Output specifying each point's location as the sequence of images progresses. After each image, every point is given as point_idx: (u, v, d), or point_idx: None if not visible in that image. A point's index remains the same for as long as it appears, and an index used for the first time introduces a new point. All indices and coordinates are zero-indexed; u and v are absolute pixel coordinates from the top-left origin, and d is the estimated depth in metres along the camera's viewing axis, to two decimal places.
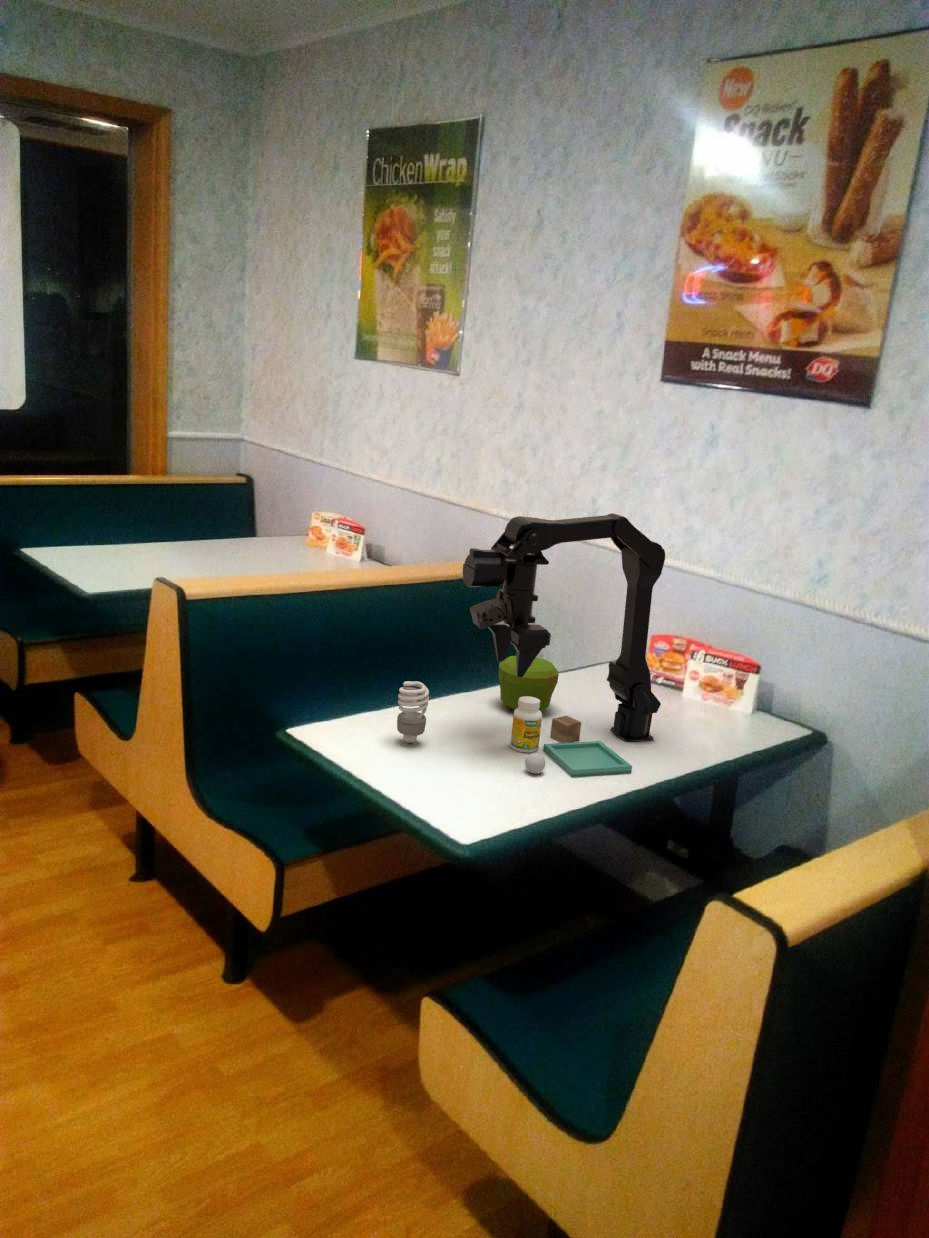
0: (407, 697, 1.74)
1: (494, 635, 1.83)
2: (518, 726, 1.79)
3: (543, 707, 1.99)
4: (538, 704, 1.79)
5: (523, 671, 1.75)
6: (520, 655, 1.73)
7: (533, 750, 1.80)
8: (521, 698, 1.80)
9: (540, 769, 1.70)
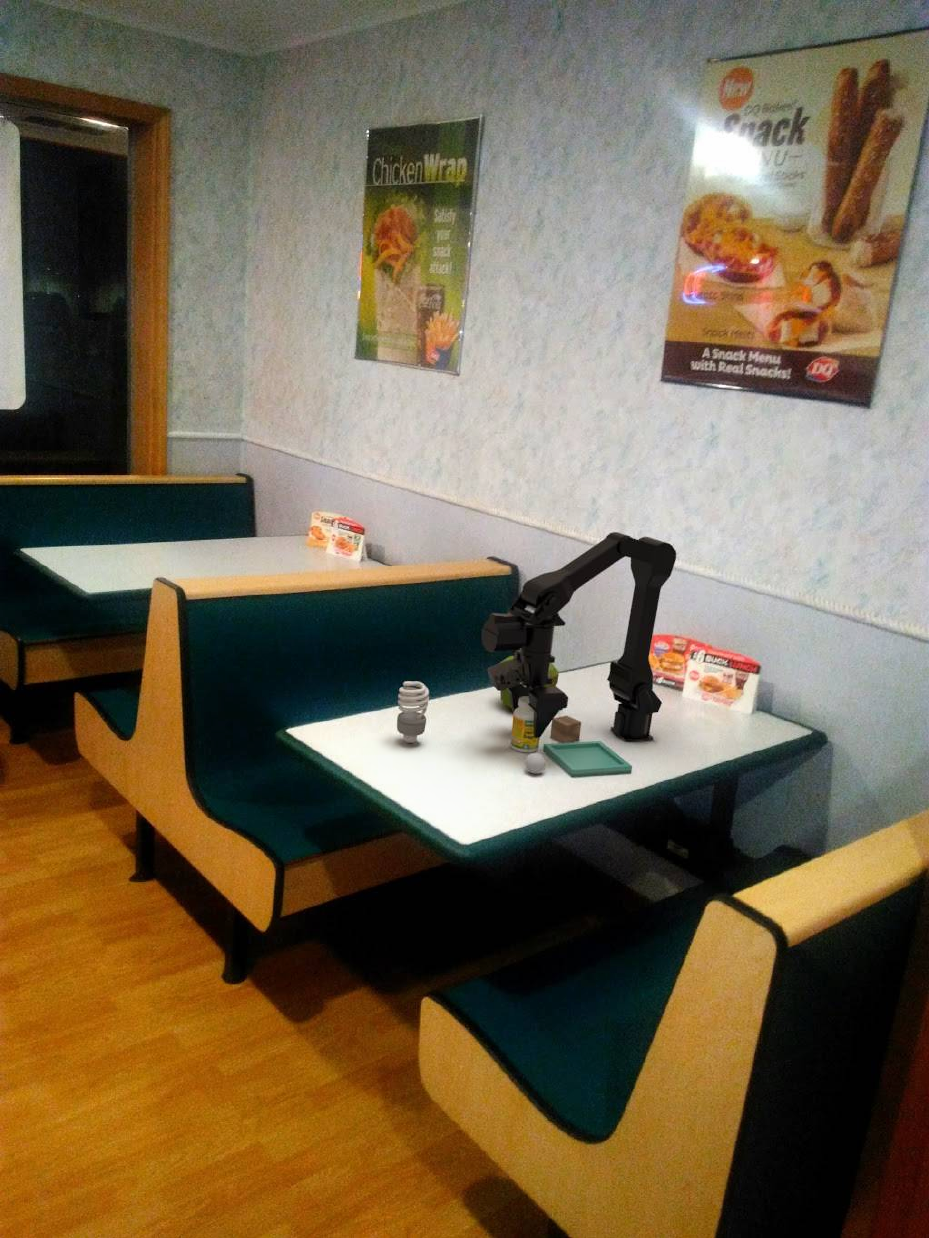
0: (407, 697, 1.74)
1: (511, 694, 1.84)
2: (518, 726, 1.79)
3: None
4: None
5: (540, 732, 1.77)
6: (537, 717, 1.74)
7: (533, 750, 1.80)
8: (521, 698, 1.80)
9: (540, 769, 1.70)
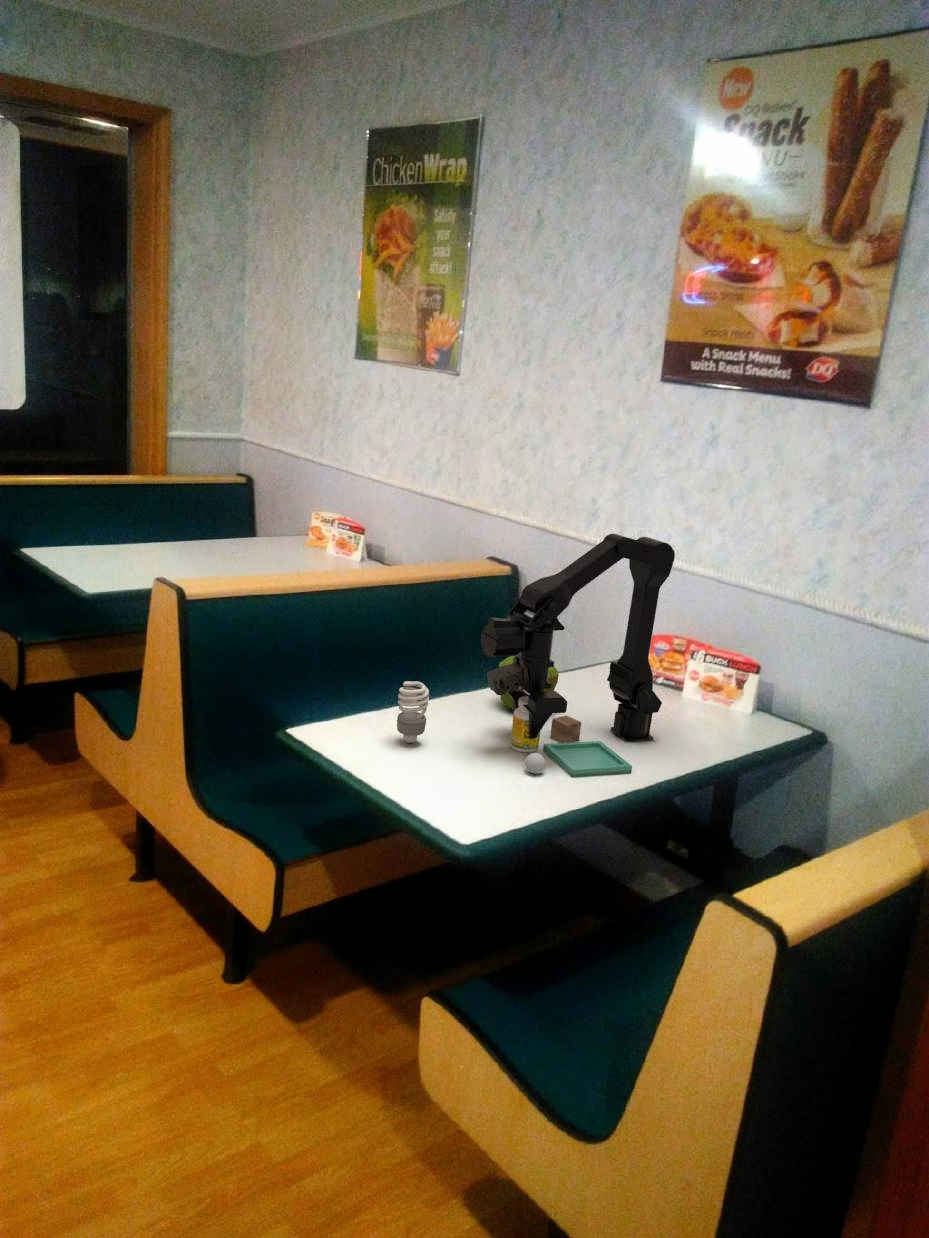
0: (407, 697, 1.74)
1: (514, 701, 1.83)
2: (518, 726, 1.79)
3: None
4: None
5: (535, 733, 1.78)
6: (533, 718, 1.76)
7: (533, 750, 1.80)
8: (521, 698, 1.80)
9: (540, 769, 1.70)
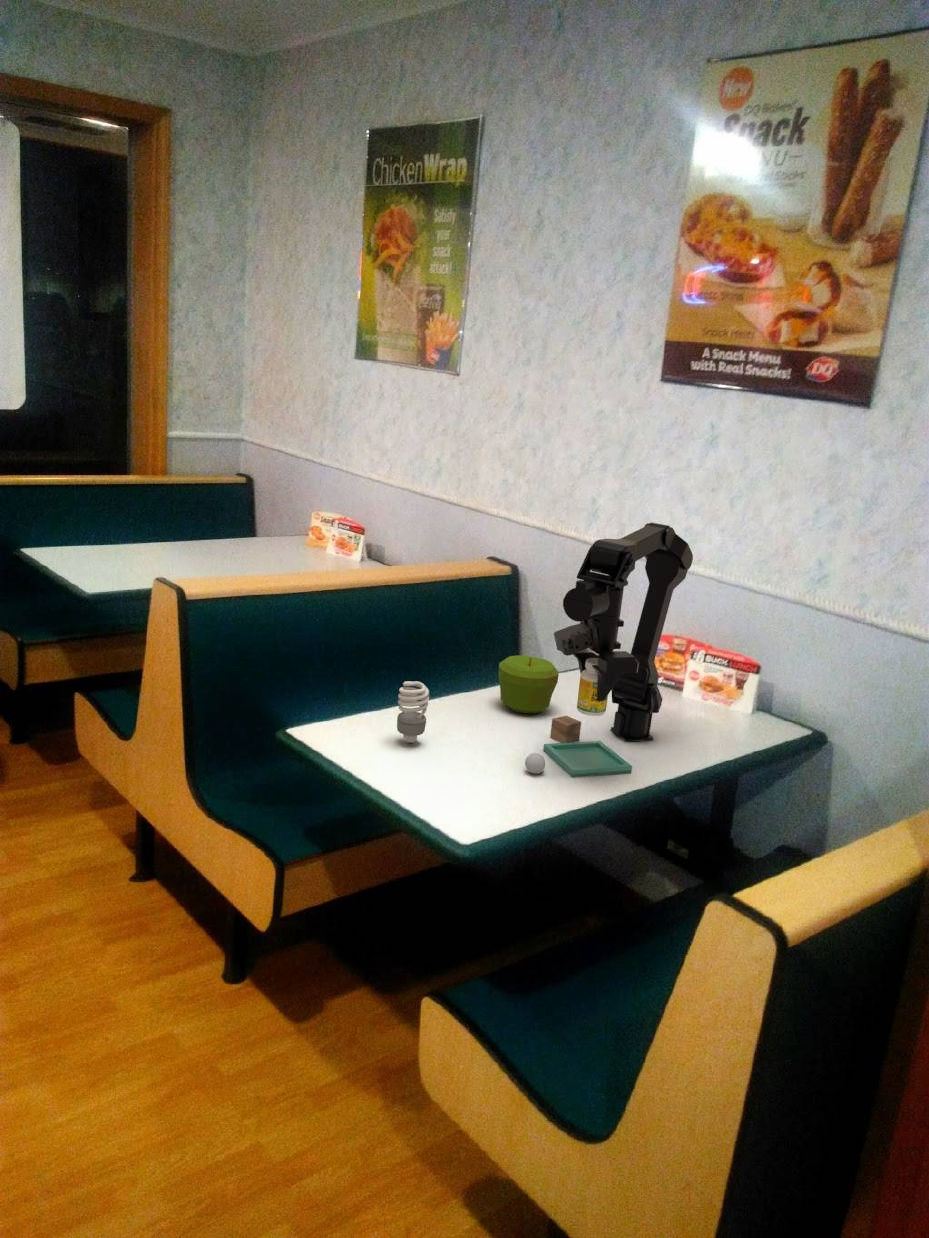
0: (407, 697, 1.74)
1: (580, 663, 1.77)
2: (585, 688, 1.73)
3: (543, 707, 1.99)
4: None
5: (604, 695, 1.72)
6: (602, 679, 1.70)
7: (601, 713, 1.74)
8: (588, 659, 1.74)
9: (540, 769, 1.70)
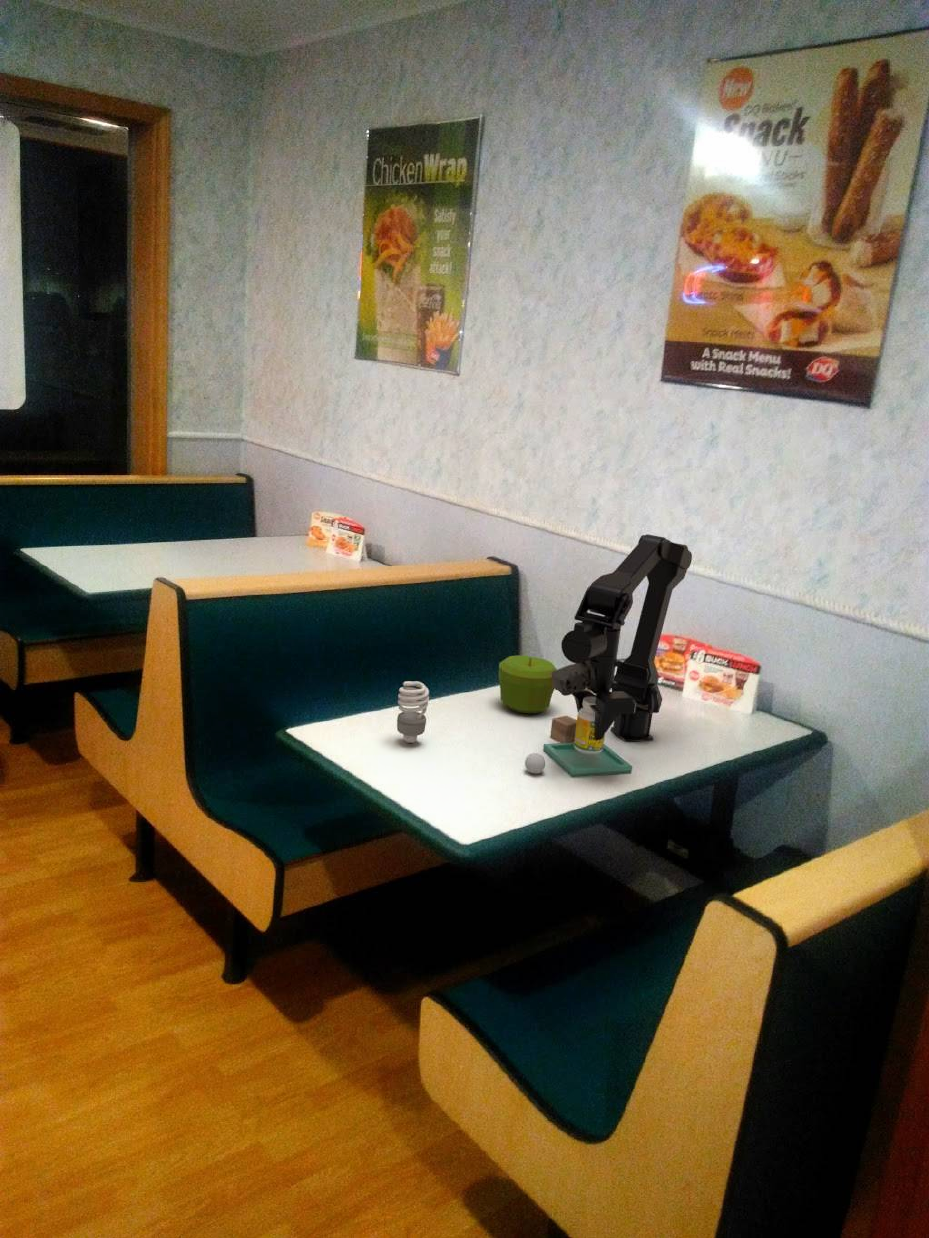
0: (407, 697, 1.74)
1: (577, 701, 1.79)
2: (583, 727, 1.75)
3: (543, 707, 1.99)
4: None
5: (601, 734, 1.74)
6: (599, 719, 1.72)
7: (598, 752, 1.76)
8: (585, 698, 1.76)
9: (540, 769, 1.70)
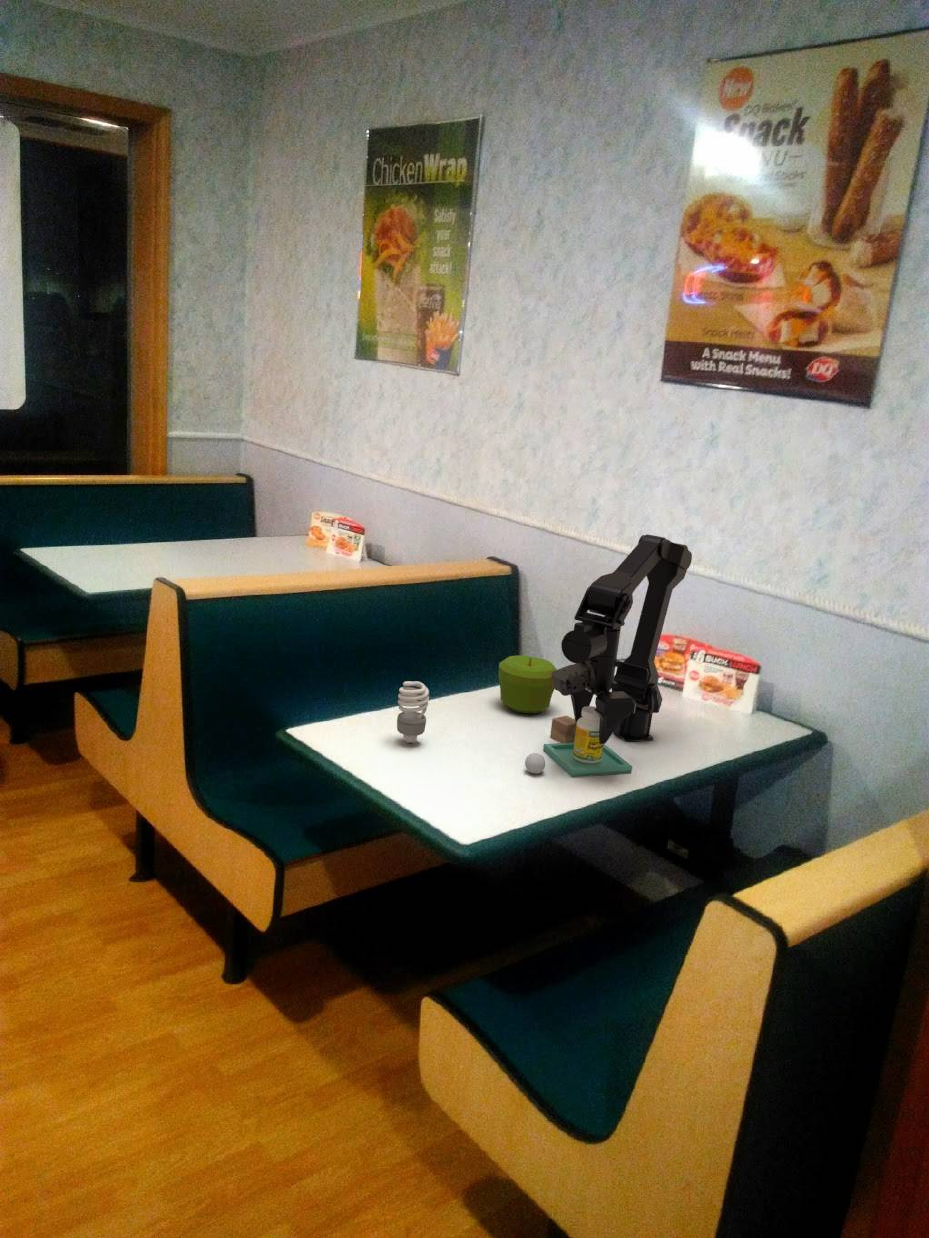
0: (407, 697, 1.74)
1: (573, 698, 1.80)
2: (582, 737, 1.75)
3: (543, 707, 1.99)
4: None
5: (606, 738, 1.72)
6: (604, 723, 1.70)
7: (597, 761, 1.76)
8: (584, 708, 1.76)
9: (540, 769, 1.70)
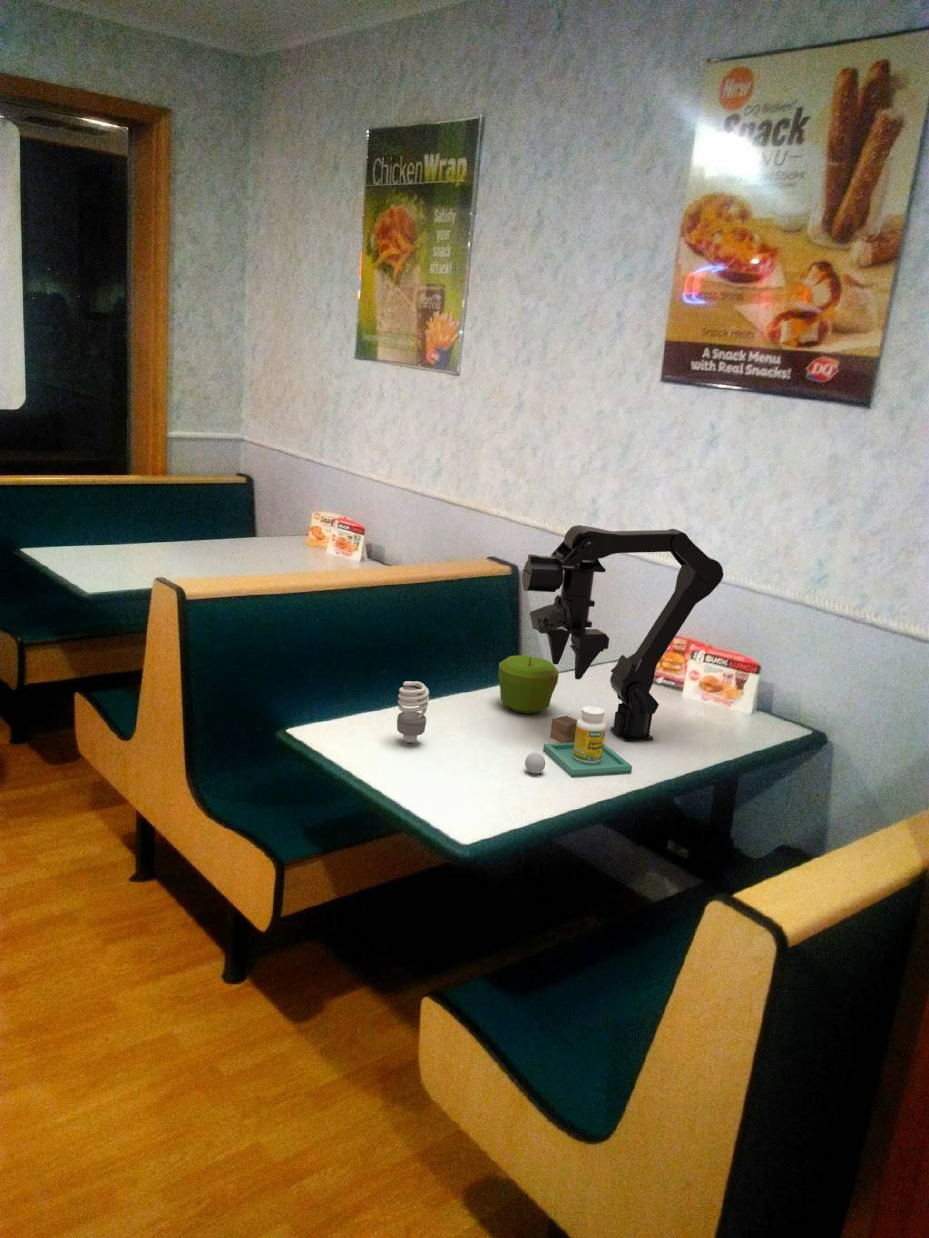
0: (407, 697, 1.74)
1: (550, 639, 1.91)
2: (582, 737, 1.75)
3: (543, 707, 1.99)
4: (602, 714, 1.75)
5: (581, 673, 1.83)
6: (579, 658, 1.81)
7: (597, 761, 1.76)
8: (584, 708, 1.76)
9: (540, 769, 1.70)
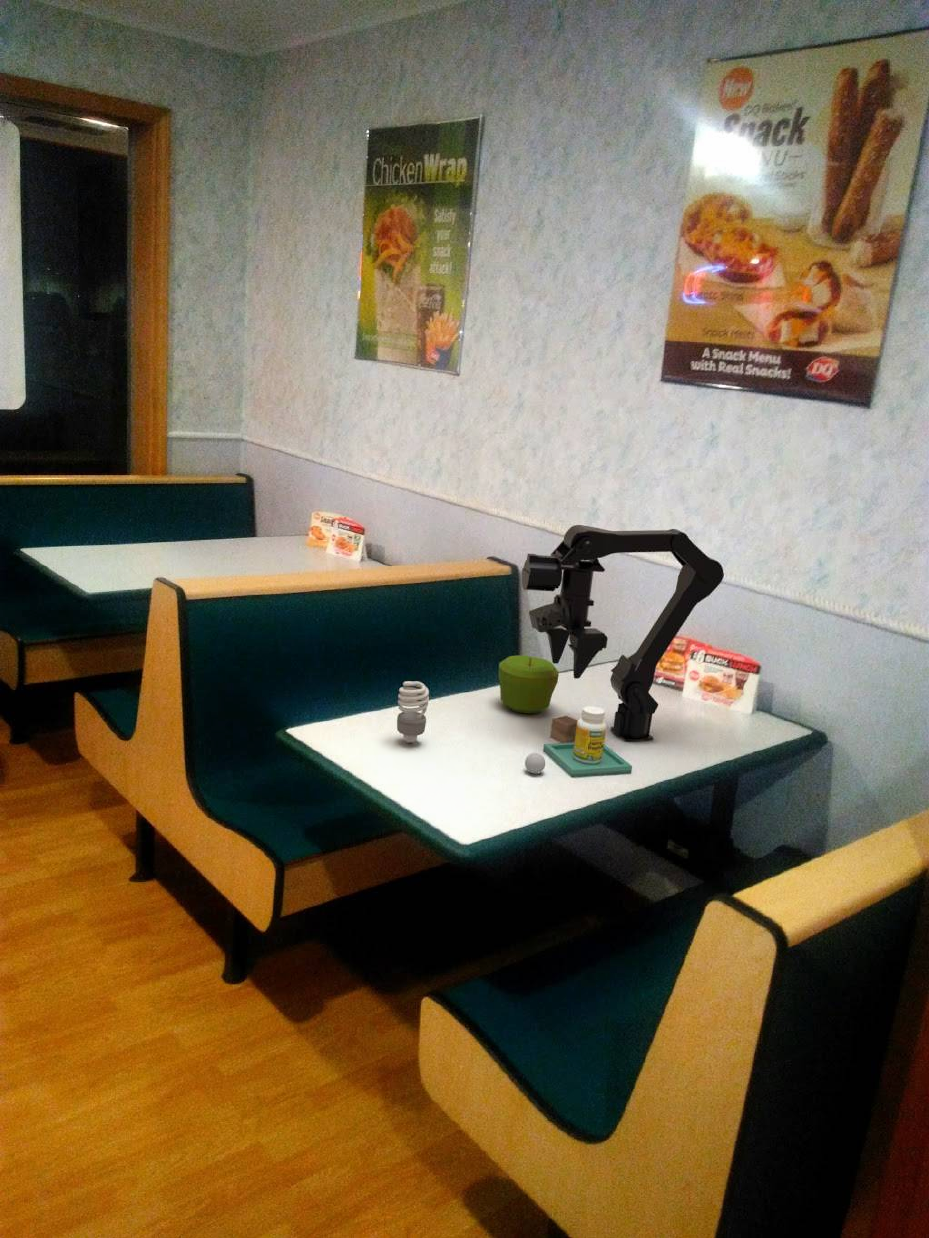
0: (407, 697, 1.74)
1: (550, 638, 1.91)
2: (582, 737, 1.75)
3: (543, 707, 1.99)
4: (603, 714, 1.75)
5: (580, 673, 1.83)
6: (578, 657, 1.81)
7: (597, 761, 1.76)
8: (585, 708, 1.76)
9: (540, 769, 1.70)
